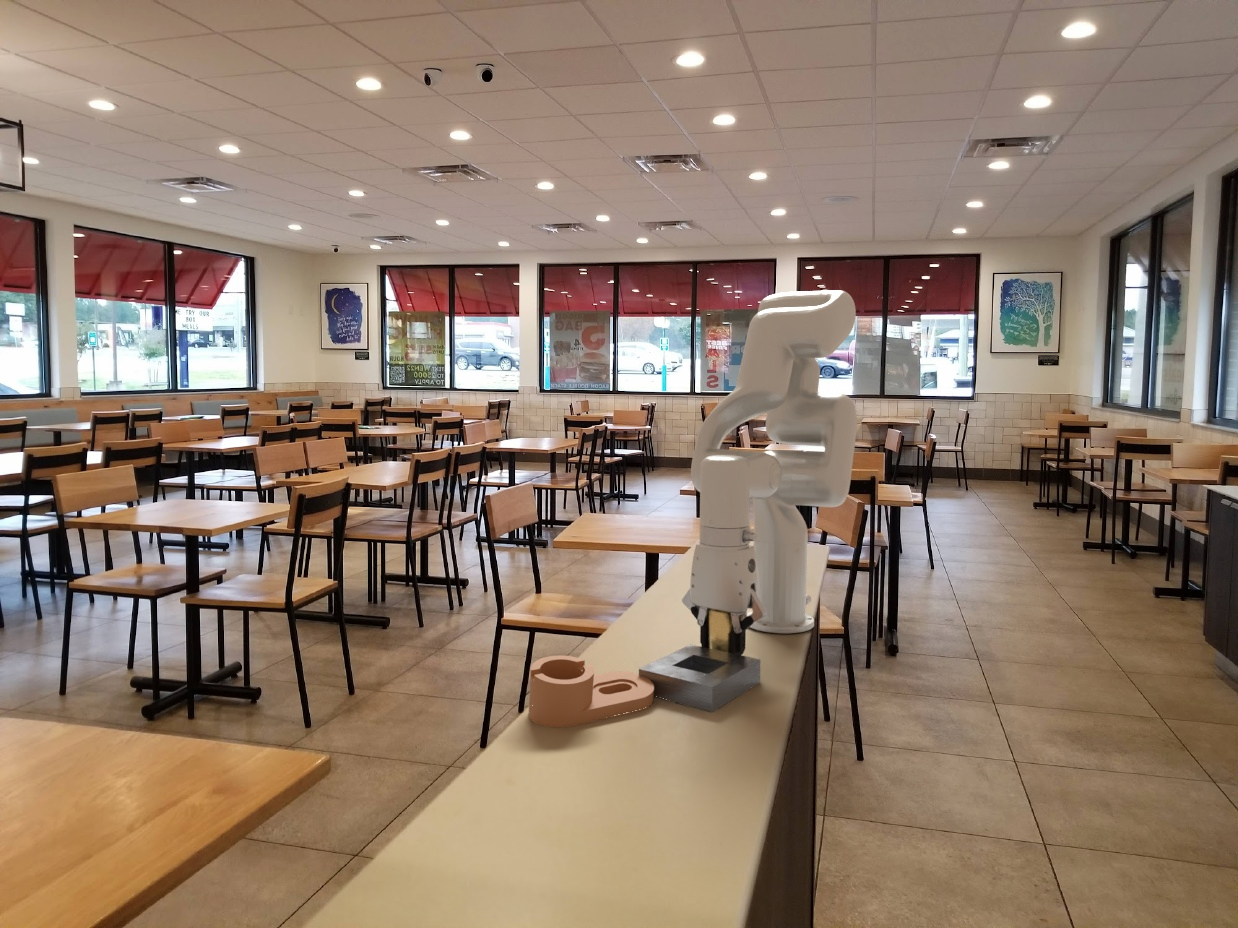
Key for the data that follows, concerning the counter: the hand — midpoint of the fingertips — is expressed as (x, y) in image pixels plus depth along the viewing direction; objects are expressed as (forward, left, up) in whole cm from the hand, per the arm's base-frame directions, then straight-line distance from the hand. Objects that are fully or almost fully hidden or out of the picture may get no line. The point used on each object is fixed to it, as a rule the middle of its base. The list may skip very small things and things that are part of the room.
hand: (722, 651), depth 135 cm
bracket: (+25, -6, -3) cm, 26 cm away
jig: (+10, +2, -2) cm, 10 cm away
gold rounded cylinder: (0, 0, -2) cm, 2 cm away
